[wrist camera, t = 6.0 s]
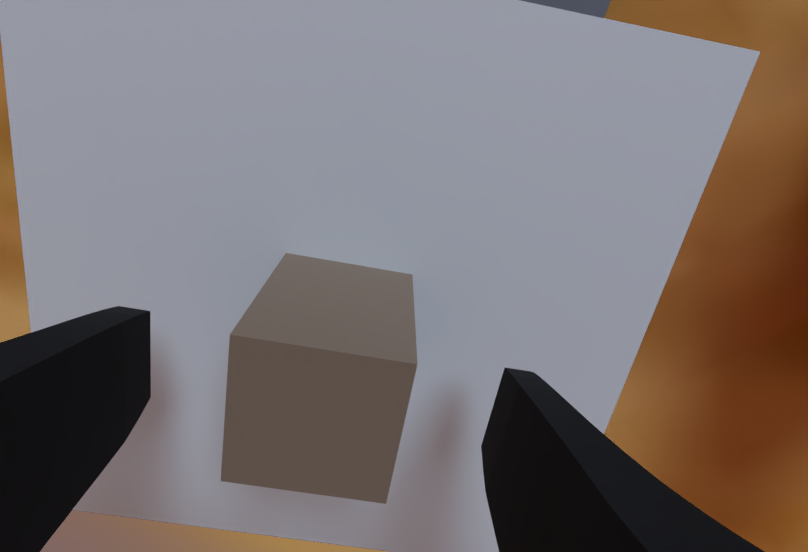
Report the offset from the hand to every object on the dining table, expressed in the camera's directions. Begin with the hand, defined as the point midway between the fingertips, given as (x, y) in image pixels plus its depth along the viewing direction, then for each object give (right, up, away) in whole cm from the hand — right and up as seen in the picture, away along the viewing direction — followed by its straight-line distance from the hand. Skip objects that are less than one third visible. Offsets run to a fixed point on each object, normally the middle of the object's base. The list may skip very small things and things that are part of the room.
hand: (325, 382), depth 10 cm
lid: (0, +1, +3) cm, 3 cm away
